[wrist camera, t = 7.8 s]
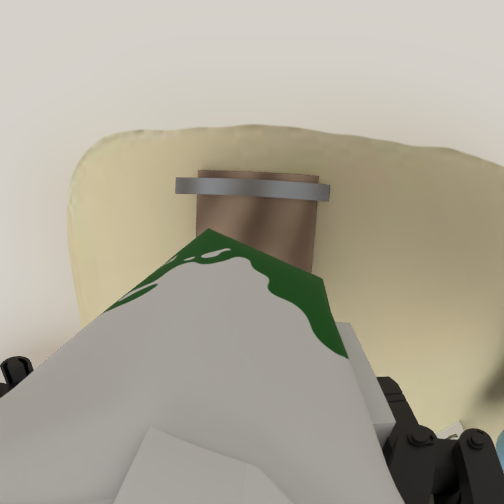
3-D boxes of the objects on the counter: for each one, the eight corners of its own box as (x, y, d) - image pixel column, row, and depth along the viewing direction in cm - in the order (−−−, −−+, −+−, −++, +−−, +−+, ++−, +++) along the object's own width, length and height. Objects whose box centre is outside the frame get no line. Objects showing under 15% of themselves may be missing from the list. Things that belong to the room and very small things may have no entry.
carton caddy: (317, 176, 35) (330, 173, 26) (305, 311, 38) (312, 346, 30) (200, 170, 36) (176, 166, 27) (198, 303, 39) (177, 335, 30)
